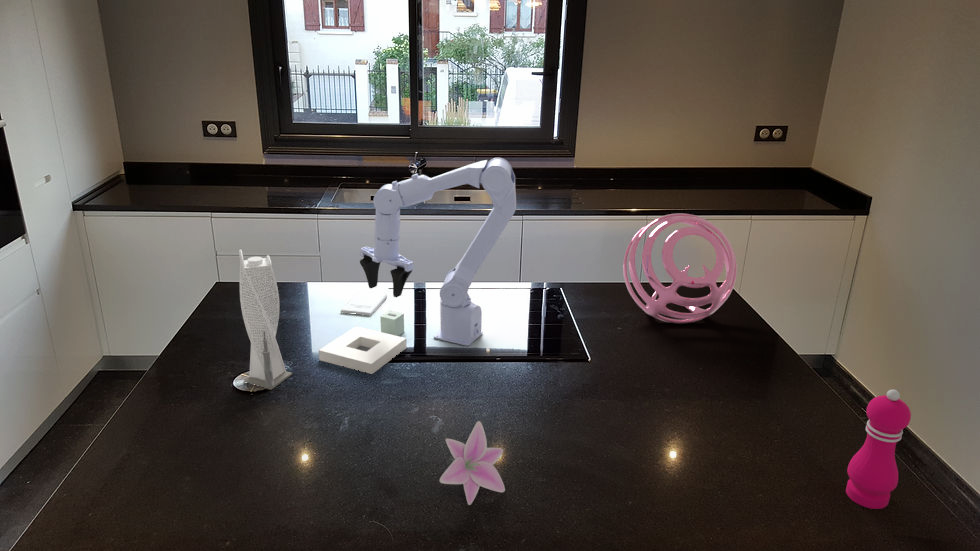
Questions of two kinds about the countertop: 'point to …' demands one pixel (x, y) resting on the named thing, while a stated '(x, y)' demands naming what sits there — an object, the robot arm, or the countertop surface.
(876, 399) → the pepper mill
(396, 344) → the outlet plate
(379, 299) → the external hard drive
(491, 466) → the lily
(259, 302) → the skyscraper
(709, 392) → the countertop surface
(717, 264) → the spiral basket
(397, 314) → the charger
